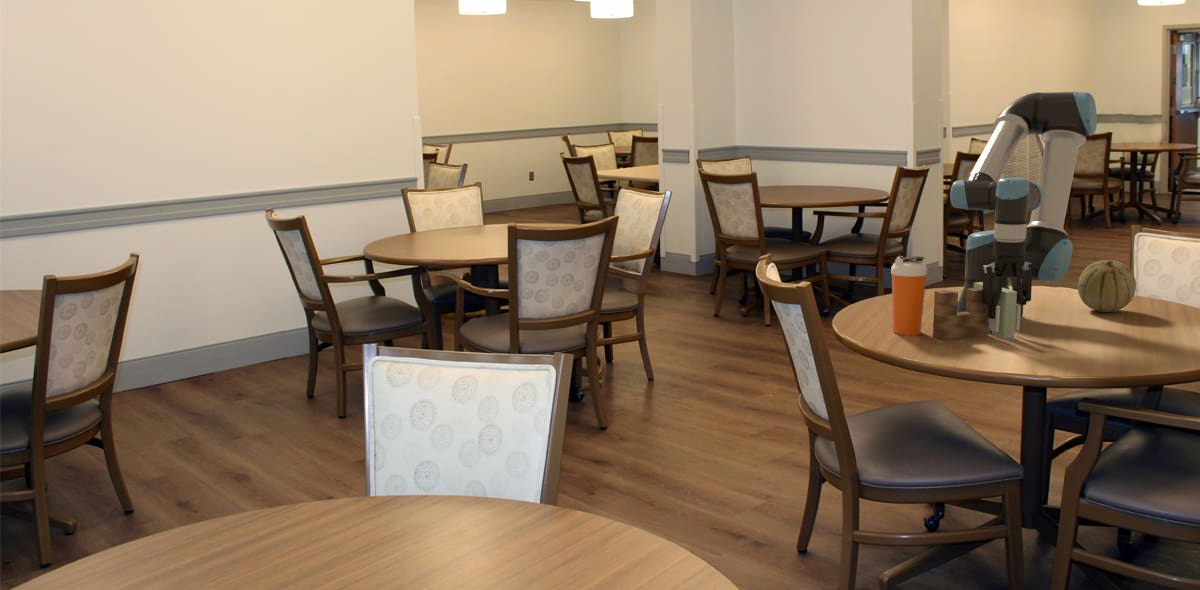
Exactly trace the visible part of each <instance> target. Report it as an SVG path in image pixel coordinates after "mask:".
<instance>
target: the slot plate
mask: <svg viewBox="0 0 1200 590" xmlns="http://www.w3.org/2000/svg"><path fill="white" fill-rule="evenodd" d="M982 287H983V282H977V283H974V288H982ZM1009 289H1010V288H1009ZM1009 289H1006V288H1002V291H1001V294H1000V298H999V301H998V304H997V306H999V307H1000V319H999V332H994V331H992V336H995V337H998V338H1001V339H1003V340H1006V339H1015V333H1016V332H1015V331H1016V330H1015V317H1016V300H1017V292H1016V291H1013V289H1010V290H1009ZM988 331H991V330H990V318H989V326H988Z"/></svg>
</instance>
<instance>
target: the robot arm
mask: <svg viewBox="0 0 1200 590" xmlns="http://www.w3.org/2000/svg"><path fill="white" fill-rule="evenodd" d="M1097 115H1098V113H1097V105H1096V101H1095V99H1094V97H1093V95H1092V94H1091V93H1089V92H1084V91H1069V92H1068V91H1066V92H1065V91H1063V92H1062V91H1060V92H1059V91H1058V92H1032V93H1028V94H1025V95H1023V96H1020V97H1019V98H1017V99H1015V100H1014V101H1012V102H1011V103H1009V104H1008V105H1007V106H1006V107H1004V108H1003V110H1002V111H1001V112H1000V113H999V114H998V115H997V117H996V118H995V121H994V122H993V128H992V129H993V132H992V134H991V135H990V137H989V139H988V141H987V143H986V144H985V146H984V148H983V150H982V151H981V154H980V155H979V157H978V158H977V160H976V163H975V164H974V166H973V168H972V170H971V172H970V173H969V175H968V177H967V178H966V179H961V180H955V181H954V182H952V185H951V188H950V193H949V198H950V200H949V201H950V203H951V205H952V206H953V208H955V209H961V210H962V209H963V210H964V209H965V210H967V211H968V210H975V211H995V213H994V228H993V229H992V230H983V231H977V232H973V233H971V234H970V235H968V237H967V240H966V249H965V253H966V254H965V269H964V270H965V272H964V286H963V289H962V291H961V292H960V295H959V297H958V308H957V312H966V296H967V289H971V288H974V283H977V282H983V287H982V300H981V301H982V303H985V304H987V305H988V306H989V308H988V317H989V318H990V330H989V331H991V332H993V331H994V332H999V319H1000V307H999V306H997V304H998V301H999V298H1000V294H1001V291H1002V288H1006V289H1009V290H1013V291H1016V292H1017V300H1016V317H1015V331H1020V329H1021V328H1020V327H1021V317H1023V315H1024V306H1026V305H1027V302H1031V300H1032V288H1033V287H1032V286H1033V285H1032V281H1038V282H1041V283H1044V282H1053V283H1055V282H1058V281H1061V280H1062V279H1063V278H1064V277H1065V276H1066V274H1067V272H1068V270H1069V268H1070V265H1071V262H1072V257H1073V251H1074V248H1073V242H1072V241H1071V240H1070V239H1069V238H1068V236H1069V233H1068V232H1067V231H1066V230H1065V229H1064V225H1065V220H1066V216H1067V215H1066V214H1067V210H1068V204H1069V199H1070V193H1071V188H1072V183H1073V178H1074V174H1075V169H1076V168H1075V167H1076V163H1077V158H1078V153H1079V148H1080V147H1081V146H1083V145H1085V144H1086V142H1087V137H1088V136H1089V137H1090V136H1093V135H1094V134H1095V133H1096V130H1097V125H1098V124H1097V123H1098V122H1097V121H1098V119H1097V118H1098V116H1097ZM1030 135H1040V139H1041V141H1042V142H1043V144H1044V148H1043V153H1042V159H1041V164H1040V168H1039V174H1038V179H1037V183H1036V182H1035V181H1029V179H1027V178H1025V177H1002V176H1003V174H1004V172H1005V170H1006V168H1007V166H1008V165H1009V163H1010V160H1011V159H1012V157H1013V155H1014V153H1015V151H1016V150H1017V148H1018V146H1019V144H1020V143H1022V142H1023V141H1024V140H1025V139H1026V138H1027V137H1028V136H1030ZM1028 213H1030V219H1029V223H1028ZM1010 284H1011V288H1012V289H1010Z"/></svg>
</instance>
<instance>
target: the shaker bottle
mask: <svg viewBox="0 0 1200 590" xmlns="http://www.w3.org/2000/svg"><path fill="white" fill-rule="evenodd" d="M924 259H925V256H906V257H904V256H903V255H898V256H896V258H895V260H894V263H893V264H892V266H890V267H891V272H890V274H891V285H892V286H891V290H892V291H891V292H892V299H891V300H892V332H893V333H895V334H898V335H903V336H914V335H915V336H917V335H919V334H921V332H922V324H923V312H924V300H925V289H926V288H925V287H926V277H927V274H928V268H927V266H926V264H925V263H924Z"/></svg>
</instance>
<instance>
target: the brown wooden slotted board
mask: <svg viewBox="0 0 1200 590" xmlns="http://www.w3.org/2000/svg"><path fill="white" fill-rule="evenodd" d="M933 299H934V301H933V321H932V323H933V324H932V326H933V327H932V337H933V338H934V339H936V340H939V341H940V340H951V339H960V338H961V339H963V338H974V337H985V336H989V330H988V326H989V317H988V308H989V306H988V305H987V304H985V303H982V301H981V300H982V288H971V289H967V296H966V312H958V311H957V308H958V301H959V292H958V291H956V290H953V289H947V290H935V291H934V298H933Z"/></svg>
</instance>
